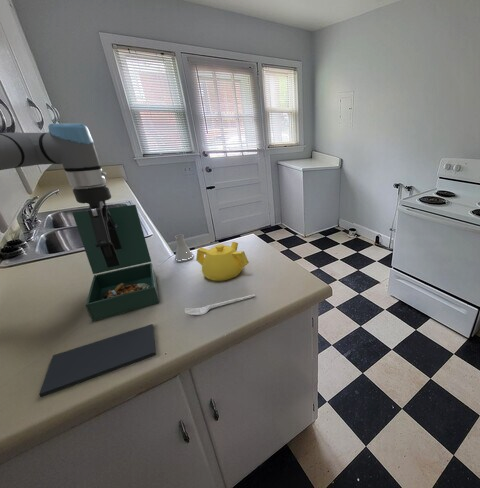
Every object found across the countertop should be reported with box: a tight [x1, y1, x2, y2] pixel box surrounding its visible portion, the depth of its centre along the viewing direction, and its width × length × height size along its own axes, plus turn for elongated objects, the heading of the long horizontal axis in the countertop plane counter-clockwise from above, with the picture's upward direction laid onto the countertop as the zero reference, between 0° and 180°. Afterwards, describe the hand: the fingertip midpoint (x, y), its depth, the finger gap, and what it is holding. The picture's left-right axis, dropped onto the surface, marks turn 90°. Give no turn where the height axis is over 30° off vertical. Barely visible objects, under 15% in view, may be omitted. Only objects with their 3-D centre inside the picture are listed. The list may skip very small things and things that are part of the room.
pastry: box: [102, 283, 149, 299], centre depth 85 cm, size 7×12×4 cm, turn 153°
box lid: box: [71, 204, 152, 275], centre depth 89 cm, size 20×16×1 cm
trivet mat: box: [38, 323, 157, 397], centre depth 63 cm, size 20×12×1 cm, turn 123°
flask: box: [174, 234, 195, 263], centre depth 109 cm, size 7×7×10 cm
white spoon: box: [183, 293, 256, 316], centre depth 81 cm, size 3×20×2 cm, turn 118°
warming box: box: [85, 262, 160, 322], centre depth 85 cm, size 19×16×6 cm
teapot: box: [195, 241, 249, 282], centre depth 99 cm, size 20×18×11 cm
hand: (115, 257), depth 81 cm, fingers open, 13 cm apart
